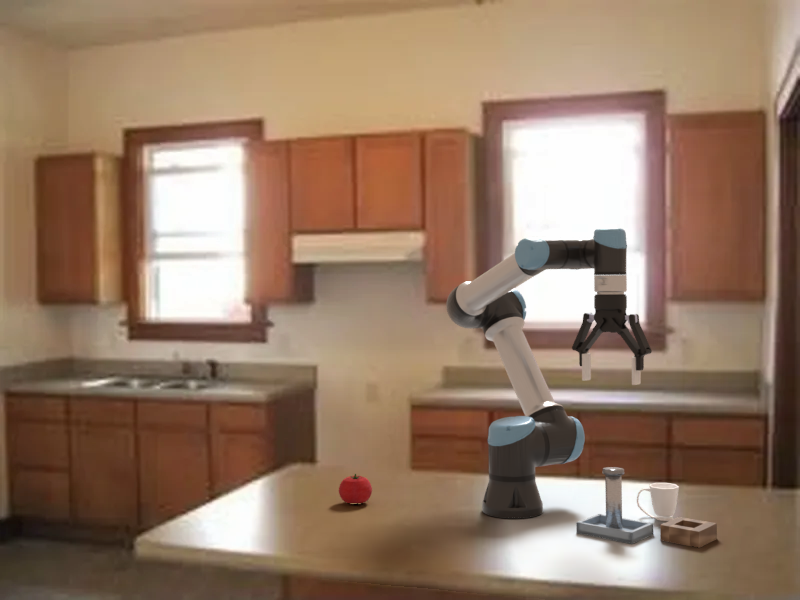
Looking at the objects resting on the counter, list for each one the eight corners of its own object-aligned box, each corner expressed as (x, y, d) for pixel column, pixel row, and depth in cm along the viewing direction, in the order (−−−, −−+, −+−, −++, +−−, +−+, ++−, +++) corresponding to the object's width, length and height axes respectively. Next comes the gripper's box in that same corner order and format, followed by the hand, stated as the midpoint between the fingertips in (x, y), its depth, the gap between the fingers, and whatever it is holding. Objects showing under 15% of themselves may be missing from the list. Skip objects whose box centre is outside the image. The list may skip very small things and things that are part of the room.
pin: (608, 526, 214) (607, 466, 214) (628, 529, 211) (627, 468, 211) (600, 531, 210) (599, 469, 210) (620, 534, 207) (619, 472, 207)
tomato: (378, 502, 245) (378, 472, 245) (359, 509, 238) (359, 478, 238) (351, 498, 250) (351, 469, 250) (332, 505, 242) (331, 475, 242)
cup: (677, 523, 219) (677, 489, 219) (634, 519, 223) (634, 486, 223) (681, 516, 225) (680, 483, 225) (639, 513, 229) (638, 480, 229)
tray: (576, 533, 212) (576, 522, 212) (599, 524, 219) (598, 513, 219) (631, 544, 202) (631, 532, 202) (653, 534, 210) (653, 523, 210)
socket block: (660, 540, 205) (660, 524, 205) (678, 532, 212) (678, 516, 211) (699, 547, 199) (699, 531, 199) (716, 538, 205) (716, 523, 205)
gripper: (557, 293, 226) (558, 379, 226) (649, 294, 208) (650, 387, 209) (575, 292, 231) (575, 377, 232) (666, 293, 214) (666, 384, 214)
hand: (610, 382), depth 220 cm, fingers open, 13 cm apart
